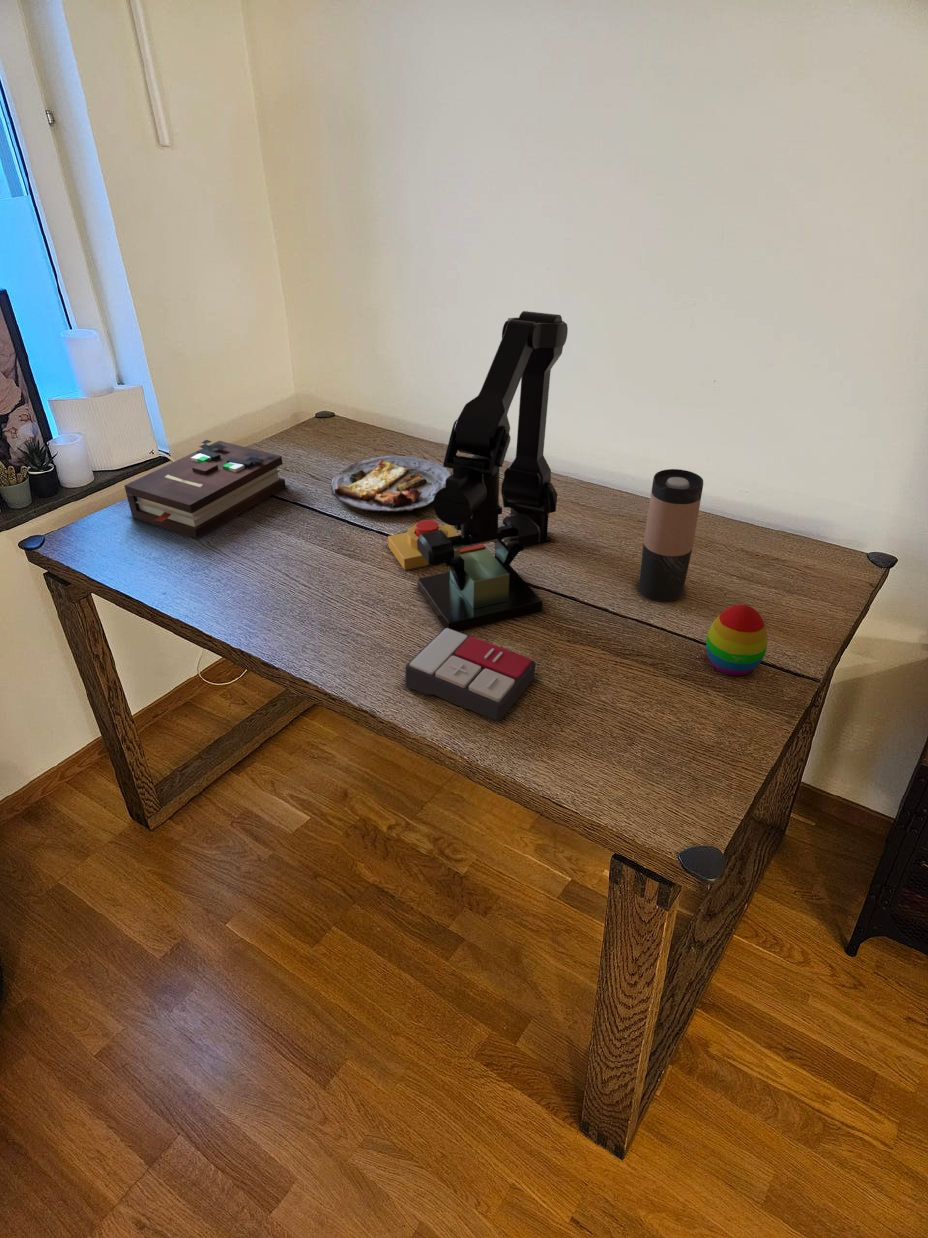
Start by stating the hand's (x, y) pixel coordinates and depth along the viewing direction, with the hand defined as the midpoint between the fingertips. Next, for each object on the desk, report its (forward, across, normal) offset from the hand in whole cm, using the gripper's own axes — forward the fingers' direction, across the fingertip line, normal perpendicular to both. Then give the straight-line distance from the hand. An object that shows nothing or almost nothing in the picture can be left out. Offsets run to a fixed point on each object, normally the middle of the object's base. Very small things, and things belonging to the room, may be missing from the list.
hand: (478, 585), depth 130 cm
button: (-1, +2, -18) cm, 18 cm away
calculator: (+3, +10, +19) cm, 22 cm away
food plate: (+3, 0, -44) cm, 44 cm away
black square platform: (+3, 0, 0) cm, 3 cm away
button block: (+3, +2, -18) cm, 18 cm away
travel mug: (+3, -29, +9) cm, 30 cm away
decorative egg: (+3, -27, +30) cm, 40 cm away
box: (+1, 0, 0) cm, 1 cm away
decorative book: (+3, +35, -54) cm, 64 cm away
